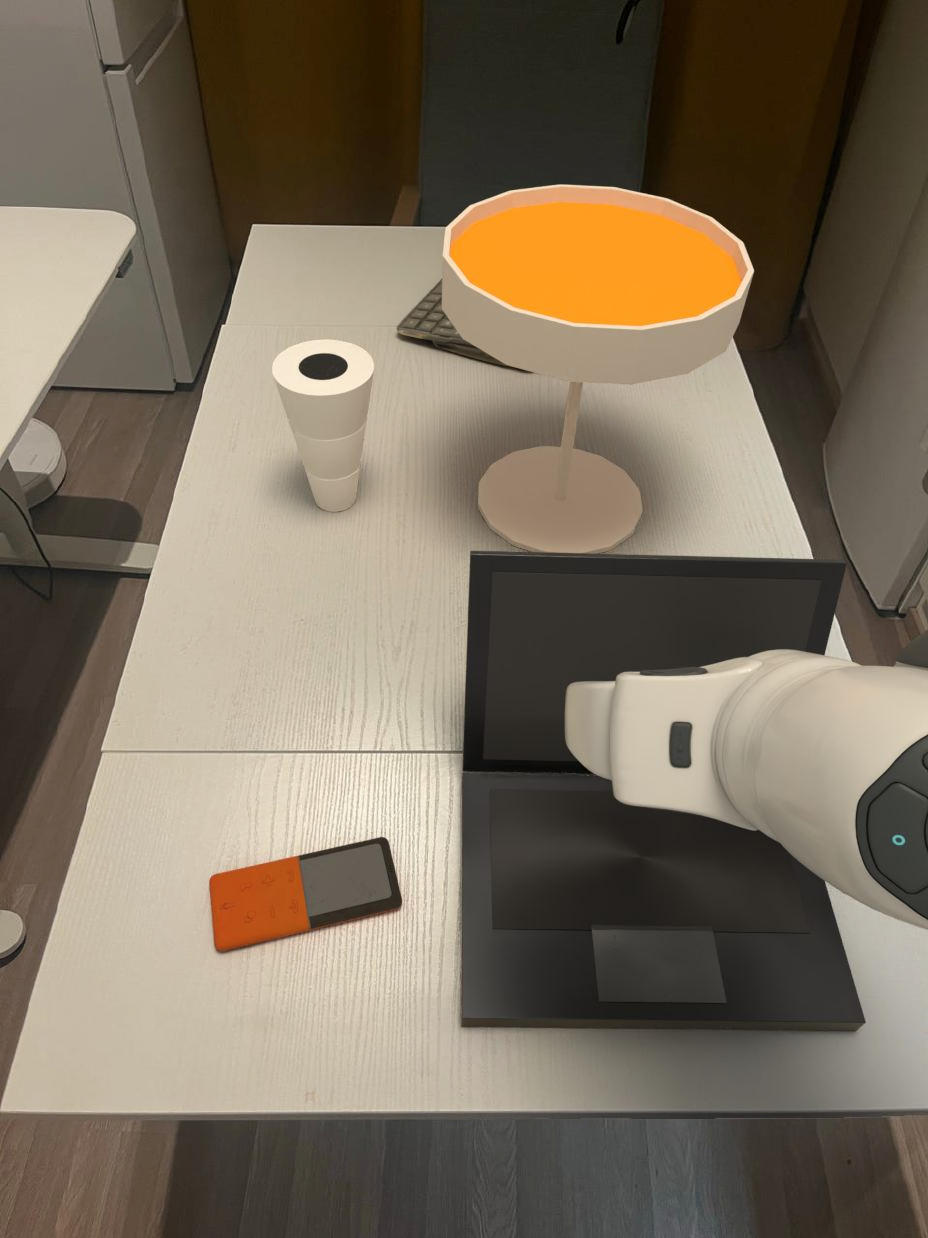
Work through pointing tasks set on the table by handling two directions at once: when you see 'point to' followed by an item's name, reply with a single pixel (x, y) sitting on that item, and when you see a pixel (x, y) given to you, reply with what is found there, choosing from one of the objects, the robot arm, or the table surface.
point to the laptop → (439, 327)
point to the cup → (327, 413)
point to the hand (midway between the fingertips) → (710, 703)
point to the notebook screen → (616, 634)
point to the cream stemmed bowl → (586, 332)
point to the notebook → (637, 917)
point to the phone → (303, 893)
